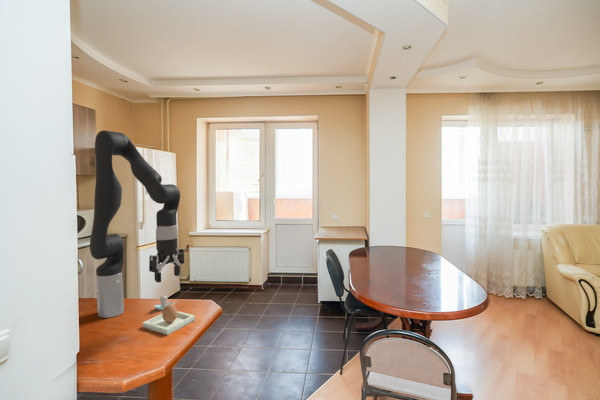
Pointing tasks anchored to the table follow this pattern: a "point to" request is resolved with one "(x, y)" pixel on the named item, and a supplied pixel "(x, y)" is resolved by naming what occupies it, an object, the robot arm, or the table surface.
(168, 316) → the egg
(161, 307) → the pacifier
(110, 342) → the table surface
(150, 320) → the dish
